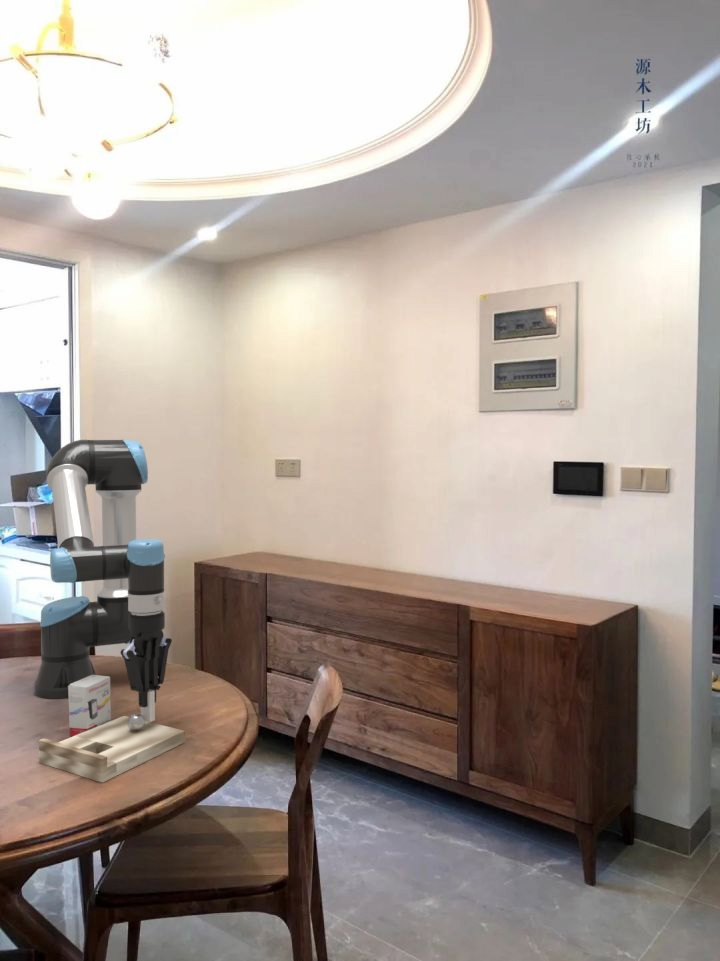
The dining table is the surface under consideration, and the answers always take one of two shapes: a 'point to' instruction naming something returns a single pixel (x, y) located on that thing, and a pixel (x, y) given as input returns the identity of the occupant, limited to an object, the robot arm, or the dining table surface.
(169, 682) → the dining table surface
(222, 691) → the dining table surface
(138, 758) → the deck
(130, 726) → the ball
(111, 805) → the dining table surface
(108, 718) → the ink box
